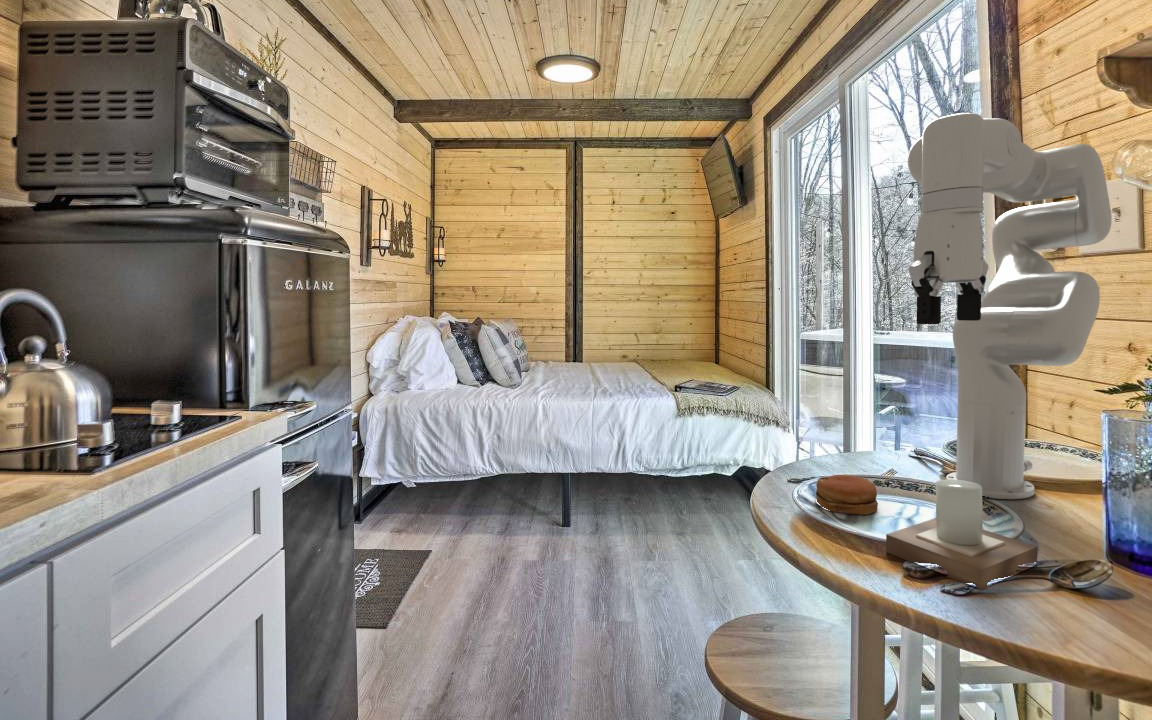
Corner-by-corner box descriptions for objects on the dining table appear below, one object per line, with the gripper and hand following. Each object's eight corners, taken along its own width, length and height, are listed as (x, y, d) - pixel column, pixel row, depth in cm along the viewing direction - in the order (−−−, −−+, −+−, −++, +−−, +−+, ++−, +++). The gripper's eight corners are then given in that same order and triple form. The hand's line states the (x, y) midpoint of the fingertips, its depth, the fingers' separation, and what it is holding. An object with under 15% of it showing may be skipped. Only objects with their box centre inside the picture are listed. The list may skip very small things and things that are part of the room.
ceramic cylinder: (951, 527, 77) (951, 477, 77) (991, 539, 73) (991, 486, 72) (927, 535, 75) (927, 483, 75) (966, 548, 71) (966, 493, 70)
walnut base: (940, 532, 82) (941, 514, 82) (1036, 565, 72) (1037, 544, 71) (886, 551, 77) (886, 532, 77) (981, 590, 66) (981, 567, 66)
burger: (887, 517, 89) (887, 488, 89) (825, 517, 91) (825, 488, 90) (864, 496, 99) (864, 470, 98) (808, 496, 100) (808, 470, 100)
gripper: (960, 211, 90) (957, 318, 92) (888, 207, 82) (887, 325, 84) (1013, 202, 83) (1010, 319, 85) (940, 198, 76) (938, 326, 77)
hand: (948, 322), depth 84 cm, fingers open, 9 cm apart
